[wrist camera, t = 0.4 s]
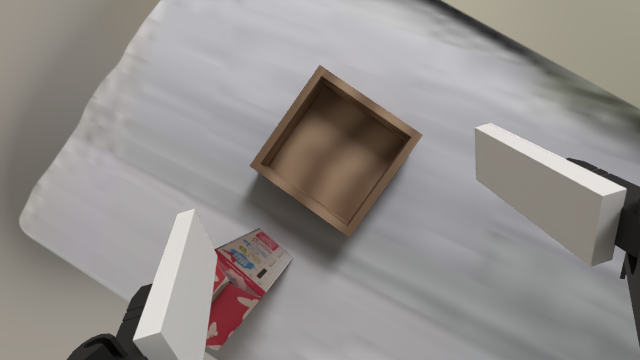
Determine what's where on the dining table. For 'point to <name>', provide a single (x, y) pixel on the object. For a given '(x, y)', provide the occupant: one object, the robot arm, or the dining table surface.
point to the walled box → (335, 150)
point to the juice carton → (242, 281)
